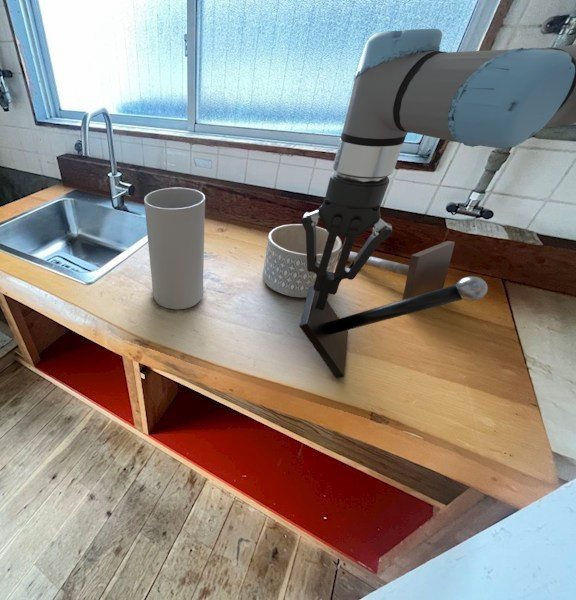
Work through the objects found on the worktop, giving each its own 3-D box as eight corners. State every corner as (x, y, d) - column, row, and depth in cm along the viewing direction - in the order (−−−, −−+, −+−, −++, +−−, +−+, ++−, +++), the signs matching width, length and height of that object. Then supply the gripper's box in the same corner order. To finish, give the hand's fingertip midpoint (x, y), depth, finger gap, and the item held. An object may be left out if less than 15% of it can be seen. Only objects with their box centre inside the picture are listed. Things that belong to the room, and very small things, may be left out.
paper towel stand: (441, 295, 77) (469, 247, 70) (406, 311, 73) (432, 262, 65) (352, 251, 95) (367, 209, 88) (320, 262, 91) (332, 219, 83)
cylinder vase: (212, 299, 79) (217, 200, 64) (168, 317, 74) (162, 214, 59) (185, 276, 88) (184, 184, 72) (144, 291, 83) (134, 195, 68)
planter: (249, 282, 84) (254, 238, 77) (285, 260, 93) (293, 218, 85) (305, 310, 74) (318, 263, 67) (340, 283, 83) (355, 238, 75)
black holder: (337, 379, 59) (286, 332, 58) (342, 334, 68) (298, 293, 67) (507, 317, 41) (438, 249, 40) (482, 268, 50) (426, 211, 49)
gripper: (412, 170, 45) (359, 302, 59) (315, 162, 50) (287, 286, 64) (417, 187, 40) (358, 327, 54) (307, 176, 45) (279, 307, 59)
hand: (320, 305), depth 59 cm, fingers closed
